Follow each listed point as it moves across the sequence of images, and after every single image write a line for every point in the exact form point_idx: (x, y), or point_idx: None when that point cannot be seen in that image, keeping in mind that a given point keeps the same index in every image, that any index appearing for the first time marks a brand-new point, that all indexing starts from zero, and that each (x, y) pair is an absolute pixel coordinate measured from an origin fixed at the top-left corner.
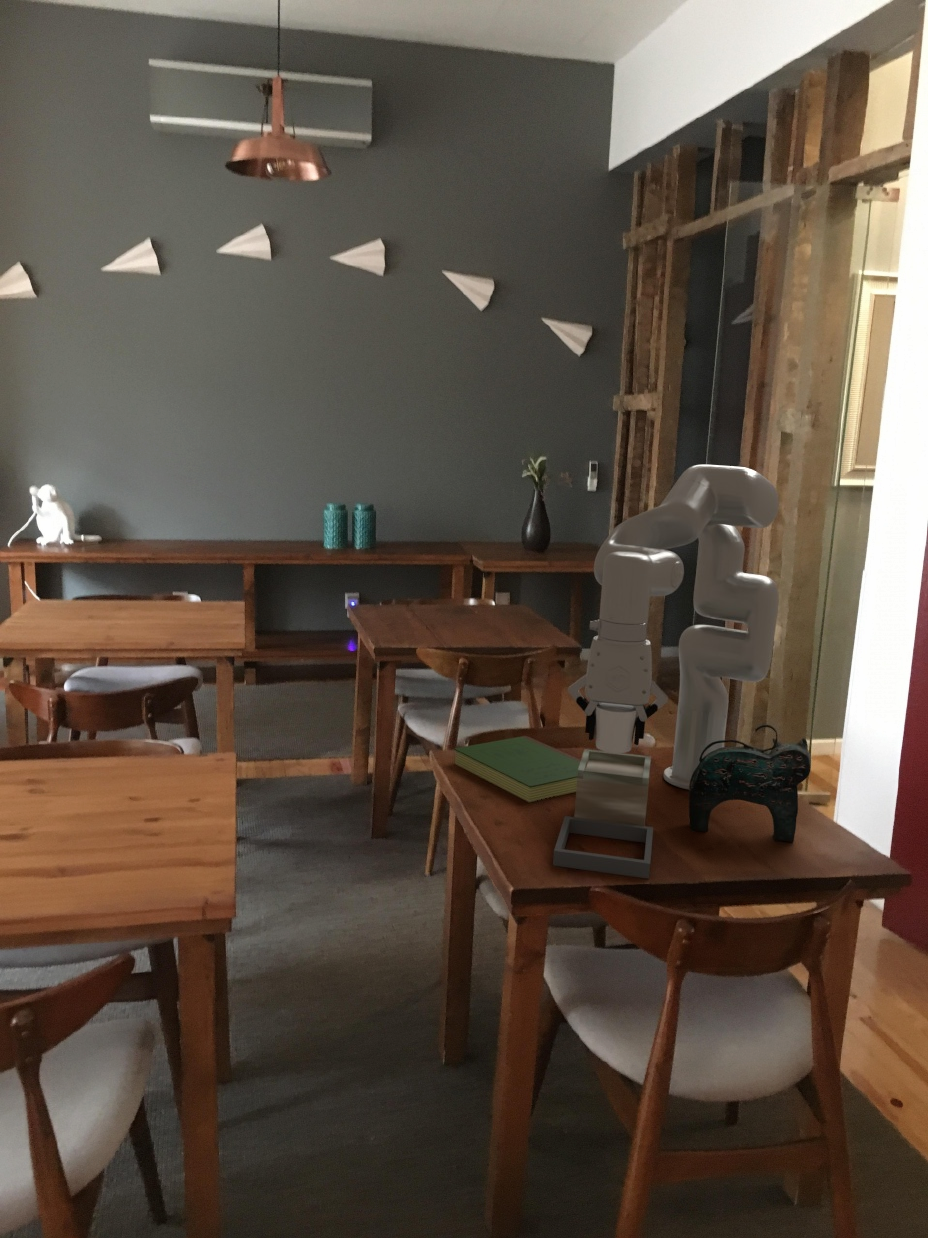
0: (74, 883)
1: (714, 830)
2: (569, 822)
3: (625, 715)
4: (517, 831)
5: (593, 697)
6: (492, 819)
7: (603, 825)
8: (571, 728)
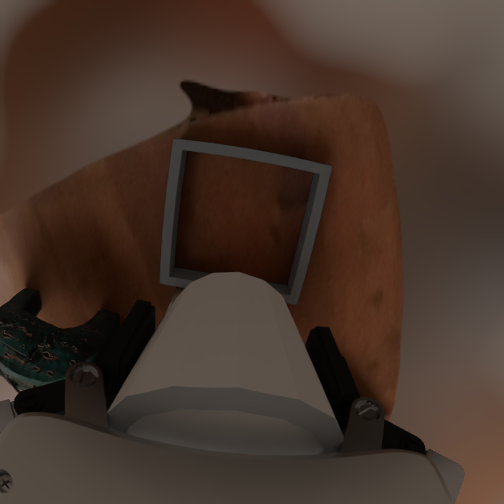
0: None
1: (93, 315)
2: (291, 289)
3: (166, 374)
4: (359, 277)
5: (403, 463)
6: (382, 307)
7: None
8: None
